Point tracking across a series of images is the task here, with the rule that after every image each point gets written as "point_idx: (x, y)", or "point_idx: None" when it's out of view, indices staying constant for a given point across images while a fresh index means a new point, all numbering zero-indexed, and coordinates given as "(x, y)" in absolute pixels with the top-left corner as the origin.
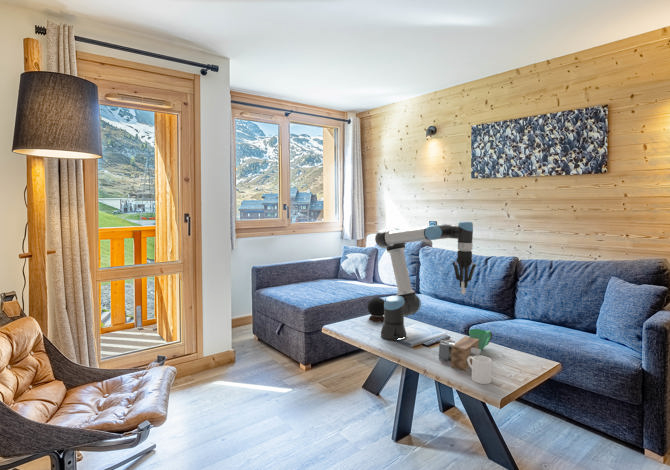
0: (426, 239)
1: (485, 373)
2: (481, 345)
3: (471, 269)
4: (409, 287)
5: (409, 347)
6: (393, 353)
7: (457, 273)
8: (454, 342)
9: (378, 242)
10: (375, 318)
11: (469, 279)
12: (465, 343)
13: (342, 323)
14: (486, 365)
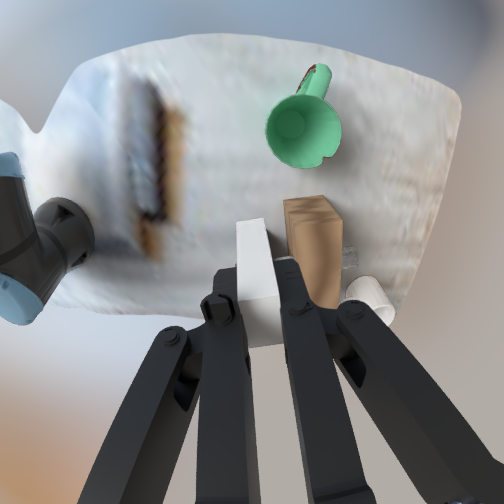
0: None
1: (378, 311)
2: (314, 141)
3: (427, 479)
4: None
5: (143, 261)
6: (154, 312)
7: (182, 440)
8: (271, 254)
9: None
10: None
11: (360, 360)
12: (322, 282)
13: None
14: (385, 322)
